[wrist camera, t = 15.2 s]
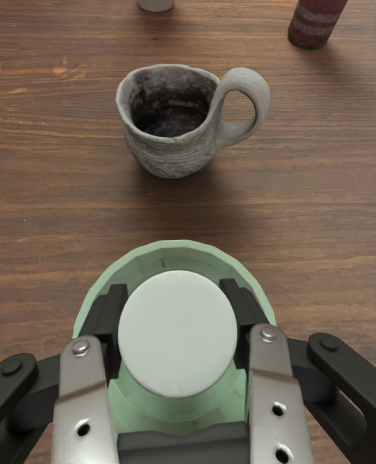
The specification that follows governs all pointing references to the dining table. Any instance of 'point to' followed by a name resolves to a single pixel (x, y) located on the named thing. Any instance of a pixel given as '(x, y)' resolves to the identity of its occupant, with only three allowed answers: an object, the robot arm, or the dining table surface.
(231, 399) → the bowl
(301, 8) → the can
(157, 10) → the coffee cup
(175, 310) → the pill bottle
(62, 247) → the dining table surface
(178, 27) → the dining table surface
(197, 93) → the mug
